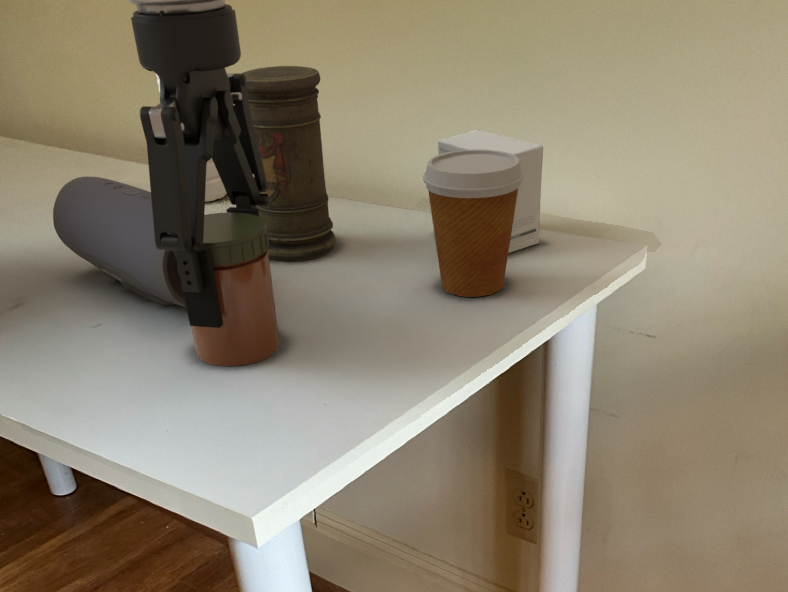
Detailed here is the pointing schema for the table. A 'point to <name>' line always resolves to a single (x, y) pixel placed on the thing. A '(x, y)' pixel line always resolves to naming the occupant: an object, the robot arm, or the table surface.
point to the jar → (241, 316)
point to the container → (291, 161)
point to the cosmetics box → (530, 188)
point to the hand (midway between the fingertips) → (230, 301)
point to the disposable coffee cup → (473, 217)
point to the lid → (234, 237)
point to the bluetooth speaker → (117, 236)
